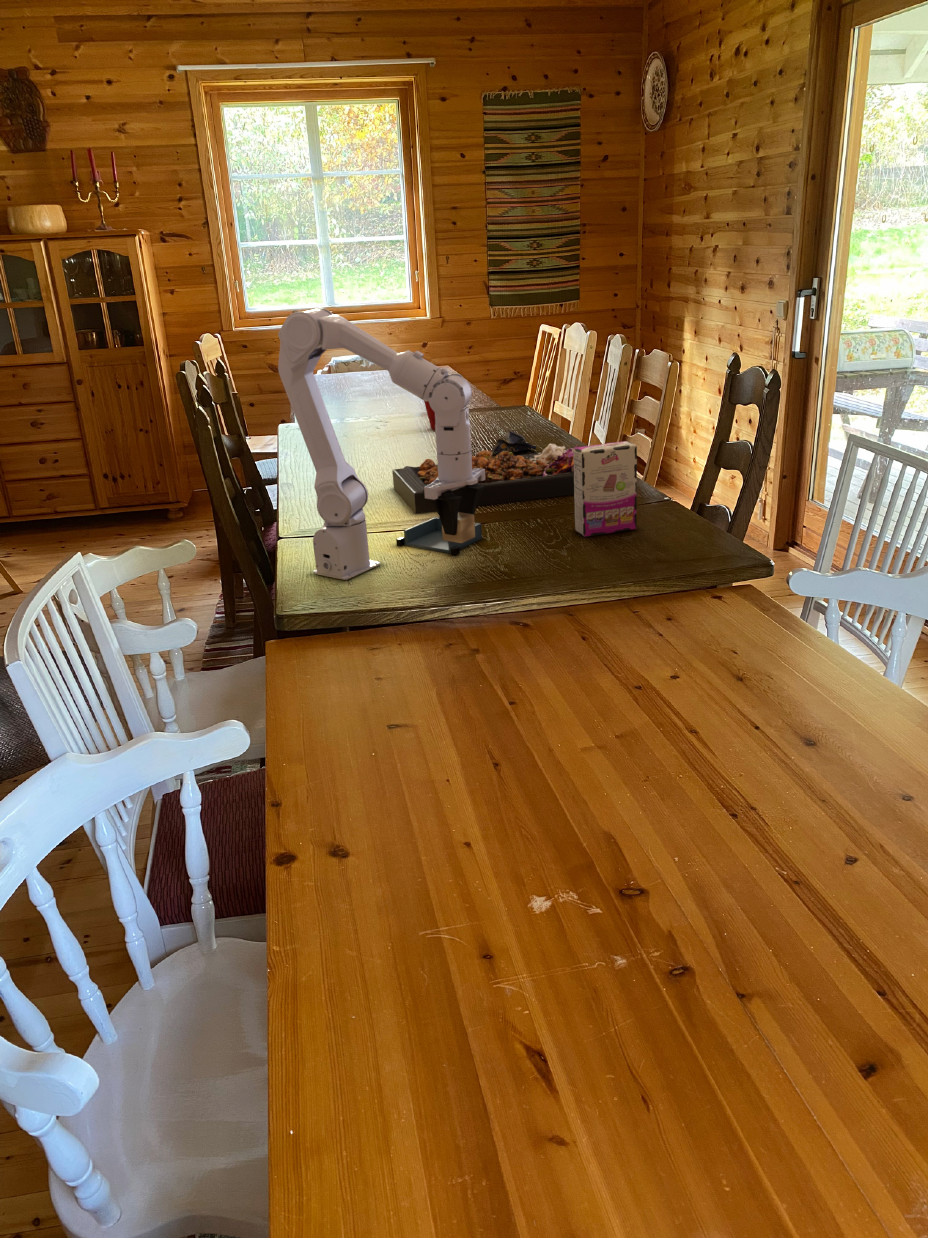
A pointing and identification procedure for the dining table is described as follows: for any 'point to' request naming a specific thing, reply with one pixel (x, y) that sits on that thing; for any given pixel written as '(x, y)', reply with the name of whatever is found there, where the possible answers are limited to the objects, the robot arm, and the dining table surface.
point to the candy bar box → (605, 488)
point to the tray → (435, 536)
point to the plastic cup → (430, 415)
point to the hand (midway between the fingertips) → (458, 530)
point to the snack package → (512, 443)
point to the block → (462, 529)
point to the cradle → (454, 550)
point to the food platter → (497, 477)
